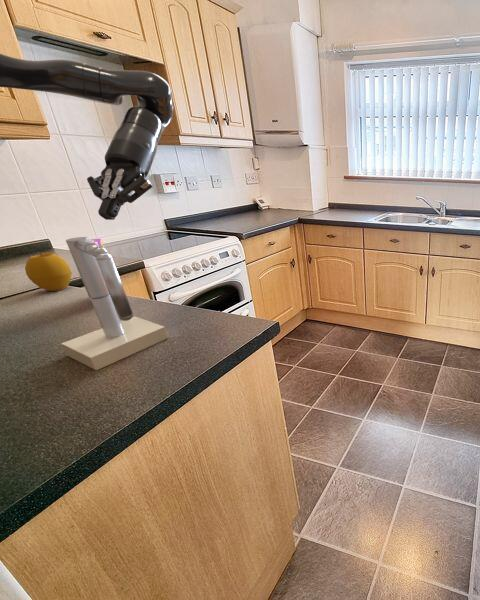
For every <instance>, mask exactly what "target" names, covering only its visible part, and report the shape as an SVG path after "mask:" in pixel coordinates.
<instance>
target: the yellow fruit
mask: <svg viewBox="0 0 480 600" xmlns="http://www.w3.org/2000/svg"><path fill="white" fill-rule="evenodd" d="M24 271H25V274H26V276H27V278H28V279H29V281H31V282H32V283H33V284H34V285H36V286H37V287H39V288H41V289H43V290H46V291H50V292H57V291H58V292H59V291H61V290H64V289H66V288H67V287H69V284H70V283H71V280H72V270H71V267H70V265H69V264H68V262H67V261H66V260H64V258H63V257H61V256H60V255H58V254H55V253H52V252H43V253H41V252H40V253H39V254H36V255H32V256H30V257H28V259H27V260H26V263H25V266H24Z"/></svg>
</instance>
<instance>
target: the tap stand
mask: <svg viewBox="0 0 480 600" xmlns="http://www.w3.org/2000/svg"><path fill="white" fill-rule="evenodd" d="M89 300H90V302H91V305H92V307H93V310H94V312H95V314H96V315H95V316H96V317H97V320H98V322H99V324H100V327H101V328H99V329H96V330H94V331H91V332H88V333H85V334H83V335H80V336H78V337H75V338H72V339H70V340H67V341H64V342H61V346H62V348H63V350H64V353H65V354H66V356H67V357H69V358H71V359H73V360H75V361H77V362H78V363H81V364H82V365H85V366H87V367H88V368H91V369H92V370H94V371H99V370H101V369H103V368H105V367H108V366H110V365H112V364H113V363H116V362H119V361H121V360H122V359H125V358H127V357H130V356H133V355H134V354H136V353H138V352H141V351H143V350H145V349H147V348H149V347H152V346H154V345H156V344H159V343H160V342H163V341H165V340H167V339H169V335H168V332H167V330H166V327H165V326H164V325H162V324H158V323H155V322H152V321H150V320H147V319H144V318H141V317H138V316H133V317H132V318H131V319H130V320H128V321H123V320H121V319H119V317H118V315H117V312H116V310H115V307H114V304H113V302H112V299H111V297H110V294H108V295H106V296H103V297H99V298H90V297H89Z"/></svg>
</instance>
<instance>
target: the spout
mask: <svg viewBox="0 0 480 600" xmlns="http://www.w3.org/2000/svg"><path fill="white" fill-rule="evenodd" d="M89 240H90V239H89V237H88V236H78V237H71V238H67V239H66V240H65V243H66V245H67V248H68V251H69V253H70V255H71V257H72V259H73V262H74V264H75V266H76V269H77V272H78V274H79V276H80V279H81V281H82V283H83V286H84V289H85V291H86V293H87V295H88V298H89V299H90V298H99V297H103V296H106V295H108V294H110V297H111V299H112V302H113V304H114V307H115V310H116V312H117V315H118V317H119V320H120V321H128V320H130V319H131V318H132V317H134V312H133V310H132V307H131V305H130V301H129V299H128V296H127V294H126V291H125V287H124V285H123V283H122V280H121V277H120V274H119V272H118V269H117V267H116V264H115V261H114V257H113V255H111V254H110V253H109V252H108V250H107V248H106V247H105V246H104V247H101V246H98V245H96V244H93V243H90V242H89Z"/></svg>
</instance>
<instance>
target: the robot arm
mask: <svg viewBox="0 0 480 600" xmlns="http://www.w3.org/2000/svg"><path fill="white" fill-rule="evenodd" d="M0 88H6V89H7V88H8V89H17V90H26V91H35V92H44V93H51V94H57V95H63V96H70V97H74V98H79V99H84V100H88V101H92V102H97V103H102V104H106V105H111V106H122V104H123V103H124V101H125V96H135V97H136V100H137V106H132V107H130V108H128V109H127V111H126V112H125V114H124V116H123V118H122V120H121V123H120V125H119V127H118V128H117V129H116V130H115V133H114V134H113V136H112V138H111V141H110V144H109V146H108V148H107V150H106V153H105V155H104V163H105V167H104V168H103V169H102V170H101V172H100V175H99V176H97V177H94V176H92V175H91V176H88V177H87V178H86V181H87V183H88V185H89V187H90V189H91V191H92V193H93V195H94V197H96V198H98V199H99V200H101V203H100V206H99V208H98V210H97V211H98V212H97V214H98V215H99V216H100V217H101V218H103V219H104V220H106V221H113V220H115V219H116V218H117V217H118V215H119V213H120V210H121V208H122V206H124V205H125V203H129V204H132V203H133V202H135V201H136V200H138V199H139V198H140V197H142V196H143V195H144V194H145V193H147V192H148V191H149V190H151V189H152V188H153V187H154V185H153V184H152V183H151V182H150V181H149V180H148V178H147V177H148V175H149V173H150V170H151V167H152V165H153V162H154V159H155V157H156V154H157V149H158V144H159V142H160V140H161V137H162V134H163V132H164V131H165V130H166V128H168V126H169V124H170V123H171V122H172V119H173V116H174V105H173V95H172V89H171V86H170V85H169V83H168V82H167V81H166V80H165V78H163V77H162V76H160V75H158V74H157V73H153V72H151V71H147V70H131V69H129V70H126V69H108V68H104V67H100V66H96V65H93V64H88V63H84V62H81V61H76V60H71V59H46V60H32V59H31V60H29V59H22V58H18V57H12V56H9V55H6V54H3V53H0Z"/></svg>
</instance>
